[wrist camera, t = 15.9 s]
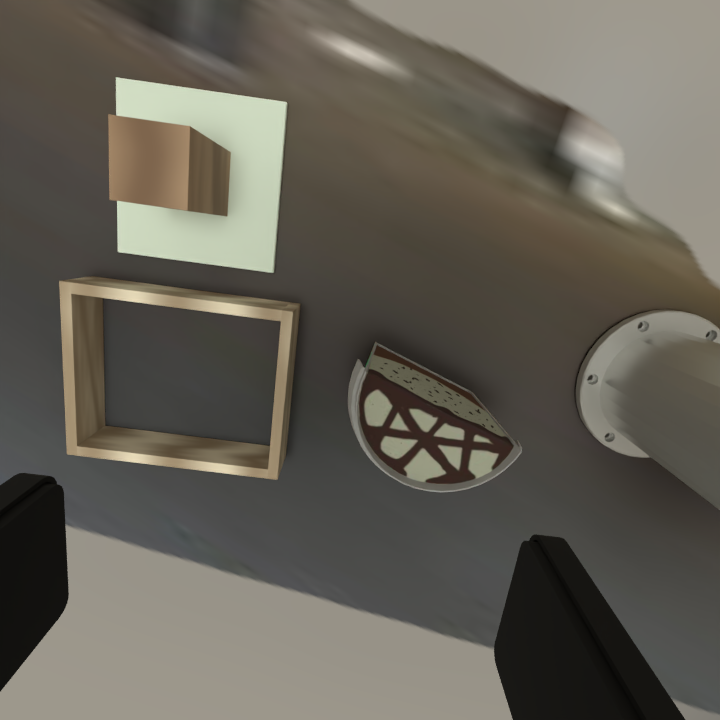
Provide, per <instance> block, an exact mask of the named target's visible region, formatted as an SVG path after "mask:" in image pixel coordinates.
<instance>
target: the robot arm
mask: <svg viewBox="0 0 720 720" xmlns="http://www.w3.org/2000/svg"><path fill="white" fill-rule="evenodd" d="M638 325H639V326H638ZM589 376H590V377H589ZM588 377H589V378H588ZM576 404H577V408H578V411H579V415H580V418H581V420H582V421H583V423H584V425H585V427H586V428H587V429H588V431H589V432H590V433H591V434H592V435H593V436H594V437H595V438H596V439H597V440H598V441H599V442H601V443H602V444H603V445H604V446H606V447H608V448H610V449H612V450H613V451H615V452H617V453H621V454H624V455H627V456H632V457H640V458H650V457H651V458H652V459H654V460H655V461H656V462H658V463H659V464H660V465H661V466H663V467H664V468H665V469H667V470H668V471H669V472H671V473H672V474H673V475H674V476H676V477H677V478H678V479H680V480H681V481H682V482H684V483H685V484H686V485H687V486H689V487H690V488H691V489H693V490H694V491H695V492H697V493H698V494H699V495H700V496H702V497H703V498H704V499H706V500H707V501H708V502H710V503H711V504H712V505H714V506H715V507H716V508H717V509H719V510H720V329H719V328H718V327H717V326H715V325H714V324H713V323H712V322H710V321H708V320H706V319H704V318H702V317H700V316H698V315H695V314H691V313H687V312H683V311H676V310H669V309H668V310H653V311H648V312H644V313H640V314H637V315H635V316H632V317H630V318H628V319H625V320H623V321H622V322H620V323H618V324H617V325H615V326H614V327H612V328H611V329H609V330H608V331H607V332H606V333H605V334H604V335H603V336H602V337H601V338H599V339H598V341H597V342H596V343H595V344H594V346H593V347H592V348H591V349H590V351H589V352H588V354H587V356H586V358H585V359H584V361H583V363H582V365H581V368H580V371H579V374H578V377H577V384H576ZM67 573H68V572H67V552H66V531H65V509H64V492H63V488H62V486H60V485H57V482H56V480H55V479H54V478H53V477H51V476H44V475H36V474H28V473H19V474H17V475H15V476H13V477H12V478H10V479H9V480H7V481H6V482H5V483H3V484H2V485H0V691H1V690H2V689H3V687H4V686H5V685H6V684H7V682H8V681H9V680H10V679H11V677H12V676H13V675H14V674H15V672H16V671H17V670H18V669H19V667H20V666H21V665H22V664H23V662H24V661H25V660H26V659H27V657H28V656H29V655H30V654H31V652H32V651H33V650H34V649H35V647H36V646H37V645H38V644H39V642H40V641H41V640H42V639H43V637H44V636H45V635H46V633H47V632H48V631H49V630H50V628H51V627H52V626H53V625H54V624H55V622H56V621H57V620H58V619H59V617H60V616H61V614H62V613H63V611H64V609H65V607H66V604H67V601H68V594H69V593H68V574H67ZM494 654H495V655H494V656H495V663H496V666H497V670H498V673H499V676H500V679H501V683H502V686H503V689H504V692H505V696H506V699H507V702H508V705H509V708H510V712H511V715H512V718H513V720H685V719H684V717H683V716H682V714H681V713H680V711H679V710H678V708H677V707H676V705H675V704H674V702H673V701H672V699H671V698H670V696H669V695H668V693H667V692H666V690H665V689H664V687H663V686H662V684H661V683H660V681H659V680H658V678H657V677H656V675H655V674H654V672H653V671H652V669H651V668H650V666H649V665H648V663H647V662H646V660H645V659H644V657H643V656H642V654H641V653H640V651H639V650H638V648H637V647H636V645H635V644H634V642H633V641H632V639H631V638H630V636H629V635H628V633H627V632H626V630H625V629H624V627H623V626H622V624H621V623H620V621H619V620H618V618H617V617H616V615H615V614H614V612H613V611H612V609H611V608H610V606H609V605H608V603H607V602H606V600H605V599H604V597H603V596H602V594H601V593H600V591H599V590H598V588H597V587H596V585H595V584H594V582H593V581H592V579H591V578H590V576H589V575H588V573H587V572H586V570H585V569H584V567H583V566H582V564H581V563H580V561H579V560H578V558H577V557H576V555H575V554H574V552H573V551H572V549H571V548H570V546H569V545H568V543H567V542H566V541H565V540H564V539H563V538H560V537H552V536H544V535H533V536H532V537H531V538H530V540H529V541H523V543H522V544H521V547H520V551H519V554H518V558H517V562H516V566H515V569H514V573H513V577H512V581H511V584H510V588H509V592H508V596H507V599H506V603H505V607H504V611H503V614H502V618H501V622H500V626H499V630H498V633H497V637H496V641H495V646H494Z"/></svg>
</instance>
